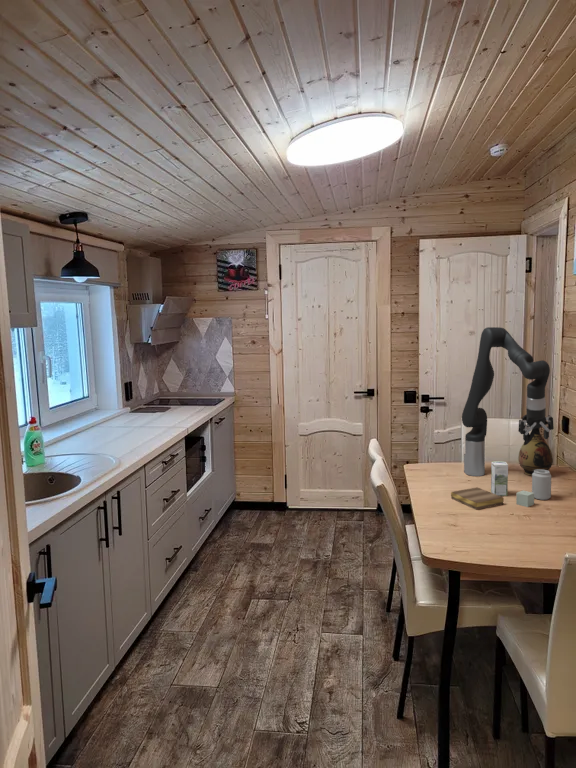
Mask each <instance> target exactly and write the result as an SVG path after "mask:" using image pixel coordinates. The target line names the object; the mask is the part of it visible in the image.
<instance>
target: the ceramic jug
mask: <svg viewBox="0 0 576 768" xmlns="http://www.w3.org/2000/svg"><path fill="white" fill-rule="evenodd" d="M526 418H527V415H526V414H524V415H523V417H522V418H521V420H526ZM526 425H527V423H525V425H524V429H525V426H526ZM544 425H545V426H548V421H547V420H546V421H545V423H544ZM529 427H530V426H529ZM523 441H524V440H523ZM517 459H518V464H519V466H520V468H522V470H523V471H524V475H527V476H530V477H532V474H533V473H534V470H537V469H543V470H548V471H549V470H550V469H551V467H552V466H553V464H554V463H553V460H554V458H553V453H552V450H551V447H550V445H549V444H548V443H547V441H546V439H545V438H544V436H543V435H542V434H541V431H540V428H536V429H532V430H531V431H530V432H529V433H528V442H525V441H524V442H523V443H522V445H521V446H520V449H519V452H518V458H517Z"/></svg>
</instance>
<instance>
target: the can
mask: <svg viewBox="0 0 576 768" xmlns="http://www.w3.org/2000/svg"><path fill="white" fill-rule="evenodd" d="M531 492H532V493H534V500H537V501H539V500H540V501H548V500H550V499H551V497H552V475H551V472H550V471H549V470H543V469H537V470H534V473H533V474H532V476H531Z"/></svg>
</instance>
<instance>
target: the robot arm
mask: <svg viewBox="0 0 576 768" xmlns="http://www.w3.org/2000/svg"><path fill="white" fill-rule="evenodd" d="M478 346H479V348H478V353H477V357H476V358H477V360H476V363H475V368H474V372H473V376H472V379H471V384H470V388H469V392H468V395H467V399H466V402H465V405H464V407H463V410H462V414H461V422H462V424H463V425H464V427H466V428H471V429H470V431H467V433H466V434H465V436H464V437H465V438H464V439H465V441H464V442H465V445H464V447H465V449H464V452H465V453H464V454H463V472H464V474H465V475H468V476H473V477H481V476H485V474H486V472H485V470H486V469H485V468H486V463H485V462H486V461H485V460H486V459H485V457H486V454H485V453H486V437H487V432H488V431H487V429H488V415H487V411H486V410H485V409H484V408H482V407H479V405H480V404H481V401H482V400H483V399H484V398H485V397H486V395H487V394H488V392H490V390H491V388H492V386H493V381H494V378H495V371H494V368H493V366H492V362H491V359H490V355H491V350H492V348H503V349H505V350H507V355H508V358H509V360H510V361H511V362H512V363H513V364H515V365H516V366H517V367H518V369H519V370H520V372H521V374H522V375H523V378H525V379H527V380H533V381H531V382H529V383H528V384H527V386H526V402H525V403H526V407H525V408H526V411H525V413H526V414H525V415H527V418H526V420H522V419H518V420H519V421H518V432H519V434H521V435H522V437H523V438H522V440H523V441H525V442H528V433H529V434H530V433H531V431H532V429H536V428H539V429H541V428H543V429H544V430H543V438H544V440H549V437H550V431H552V430H554V428H555V427H554V417H552V415H550V414H549V415H547V416H546V411H547V410H546V407H547V404H546V403H547V402H546V386H547V383H548V380H549V377H550V373H551V370H550V365H549V363H548V362H547V361H546V360H542V359H541V360H536V361H534V357H533V356H532V354H530V353H529V352H528V351H527V350H525V348H522V347H521V346H520V345H519V343H518V342H517V341H516V340H515V338H513V336H512V335H511V334H510V333H509V331H508V330H507V329H506V328H503V327H500V326H497V327H493V326H492V327H491V326H489V327H485V328H484V329H482V332H481V335H480V341H479V345H478ZM545 421H547V422H548V424H547V425H544V423H545ZM525 423H526V426H525V429H524V425H525ZM529 426H530V427H529Z"/></svg>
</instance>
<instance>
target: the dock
mask: <svg viewBox="0 0 576 768" xmlns="http://www.w3.org/2000/svg"><path fill="white" fill-rule="evenodd" d="M450 496H451V499H452V500H454V501H456V502H458V503H461V504H463V505H465V506H467V507H470V508H472V509H474V510H476V511H477V510H478V511H479V510H481V509H482V510H483V509H487V508H493V507H496V506H501V505H502V506H503V505H504V496H498V495H496V494H493V493H492V492H491V491H488V490H485V489H483V488H481V487H478V486H477V487H471V488H466V489H461V490H454V491H451V492H450Z"/></svg>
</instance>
